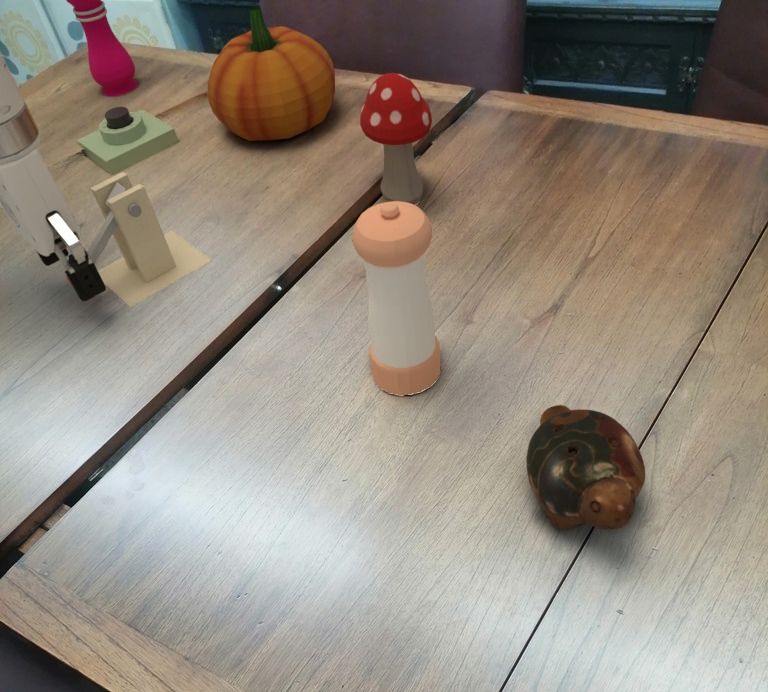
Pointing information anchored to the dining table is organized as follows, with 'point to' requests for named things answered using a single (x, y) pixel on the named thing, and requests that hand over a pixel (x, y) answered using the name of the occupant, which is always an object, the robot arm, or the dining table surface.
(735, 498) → the dining table surface
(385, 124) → the decorative mushroom
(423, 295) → the salt shaker
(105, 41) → the pepper mill
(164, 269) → the wooden pivot stand
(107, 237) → the switch lever
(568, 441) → the decorative turtle
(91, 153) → the control block
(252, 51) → the pumpkin
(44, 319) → the dining table surface
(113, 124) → the button
